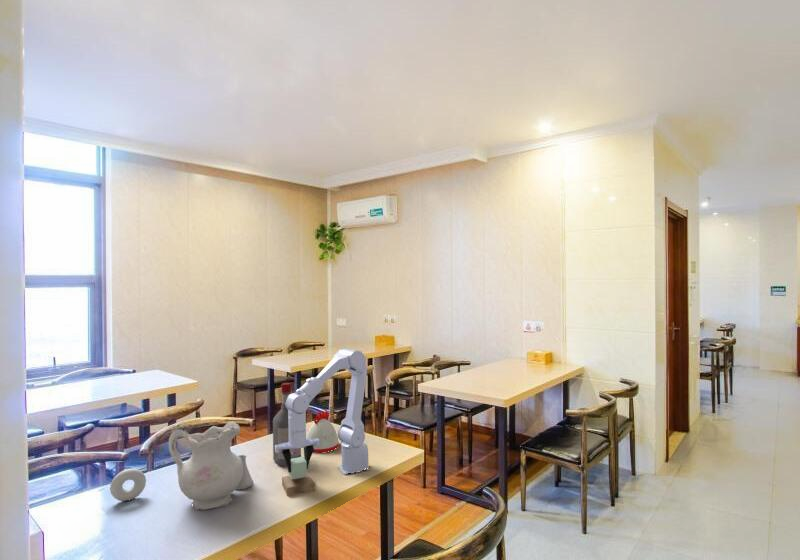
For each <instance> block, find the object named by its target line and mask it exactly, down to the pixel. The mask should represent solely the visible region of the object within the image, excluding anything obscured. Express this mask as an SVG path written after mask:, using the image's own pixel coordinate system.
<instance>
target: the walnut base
mask: <svg viewBox="0 0 800 560" xmlns="http://www.w3.org/2000/svg"><path fill="white" fill-rule="evenodd" d="M281 485H282V488H283V490H284V493H285V494H286V497H289V496H294V495H299V494H303V493H308V492H313V491H315V481H314V479H313V478H312V476H311V475H310V473H309V472H308V471H307V477H302V478H297V479H291V477H290V475H288V476H287V475H286V476H281Z"/></svg>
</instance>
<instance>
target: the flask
mask: <svg viewBox="0 0 800 560" xmlns="http://www.w3.org/2000/svg"><path fill="white" fill-rule="evenodd" d="M238 456H239V457H240V458H241V460H242V463H243V476H242V479H241V481H240V483H239V485H238V486H237V488H236V489H235V491H236V490H237V491H238V490H246V489H248V488H249V487H252V486H253V484H254V480H253V478H252V476H251V474H250V471H249V469H248V465H247V461H246V458H247V455H246V454H239V455H238Z"/></svg>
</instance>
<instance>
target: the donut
mask: <svg viewBox="0 0 800 560" xmlns="http://www.w3.org/2000/svg"><path fill="white" fill-rule="evenodd" d="M127 481H132V482H133V483H134V484H133V486H132V487H131V488H129V489H125V488H123V487H124V486H123V485H124V483H125V482H127ZM146 483H147V478H146V475H145V473H144V472H143V471H141V470H140V469H137V468H128V469H124V470H121V471H120V472H119V473H117V474H116V475H115V476H114V477H113V478H112V481H111V483H110V486H109V487H110V488H109V491H110V494H111V496H112V497H113V498H114V499H115V500H117V501H120V502H125V501H124V500H129V499H132V500H134V499H136V498H137V497H139V496H140V495H141V494H142V493H143V492H144V489H145V487H146ZM135 497H136V498H135ZM133 498H134V499H133ZM129 501H130V500H129Z"/></svg>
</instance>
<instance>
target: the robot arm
mask: <svg viewBox="0 0 800 560" xmlns="http://www.w3.org/2000/svg"><path fill="white" fill-rule="evenodd" d="M366 360H367V357H366V355H365V354H364V352H362V351H360V350H355V349H350V348H346V347H343V348H340V349H339V350H338V351H337V352H336V353H334V355H333V358H331V360H330V361H329V362H328V363H327V365H326V366H325V367H323V369H321V371H320V373H319V374H318V375H317V376H315V377H314V376H312V377H310V378H307V379H305V381H306V382H304V384H303V385H302V386H300V387H299V388H297V389H296V391H295V392H291V394H290V395H289V396H288V397H287V400H286V402H285V406H286V408H287V409H288V423H289V442H286V443H283V444H279V445H275V452H276V453H279V452H280V451H282V453H283V456H284V458H285V461H286V464H287V466H286V467H287V472H288V474H289V473H290V472H291V453H290V450H292V449H298V448H301V449H302V448H303V452H304V453H303V454H304V456H303V457H304V459H305V460H306V462H307V470H308V469H309V464H310V461H311V458H312V455H313V454H314V453H313V452H314V448H313V446H319V439H318V438H317V439H306V436H307V426H306V425H307V418H306V417H307V414H306V413H307V412H306V411H307V410H308V409H309V406H310V403H312V402H311V401H312V400H314V398H315V397H316V396H317V395H318V394H319V393H320V392H321V391H322V390H323V389H324V388H323V387H324V384H325V383H326V382H328V380H330V378H332V377H333V376H334V375H335V374H336V373H338V372H339V370H347V371H348V372H349V373H350V374H351V378H350V386H349V391H348V393H349V394H348V399H347V406H346V407H347V408H346V412H345V418H343V419H342V420H341V422H340V426H339V428H338V430H337V437H338V440H340V444H341V464H338V466H337V467H338V469H339V470H340V471H341V472H342V474H343V475H345V474H346V475H349V474H348V473H351V474H354V473H353V472H356V473H359V472H358V471H361V472H363V471H362V470H364V469H365V468H366V469H367V468H369V449H368V445H367V443H365V439H366V433H365V425H364V422H363V421H362V412H363V404H364V399H365V398H364V396H365V390H366V383H367V382H366V381H367V376H368V368H367V364H366ZM366 469H365V470H366ZM366 471H367V470H366Z"/></svg>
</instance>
